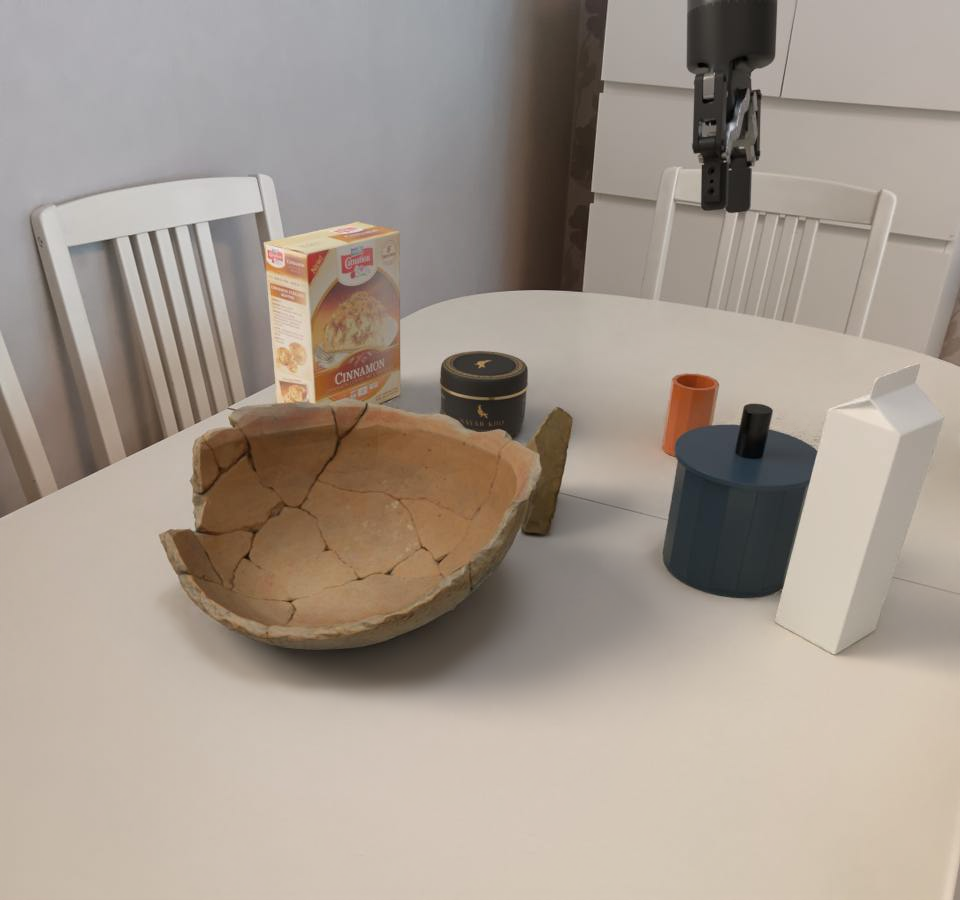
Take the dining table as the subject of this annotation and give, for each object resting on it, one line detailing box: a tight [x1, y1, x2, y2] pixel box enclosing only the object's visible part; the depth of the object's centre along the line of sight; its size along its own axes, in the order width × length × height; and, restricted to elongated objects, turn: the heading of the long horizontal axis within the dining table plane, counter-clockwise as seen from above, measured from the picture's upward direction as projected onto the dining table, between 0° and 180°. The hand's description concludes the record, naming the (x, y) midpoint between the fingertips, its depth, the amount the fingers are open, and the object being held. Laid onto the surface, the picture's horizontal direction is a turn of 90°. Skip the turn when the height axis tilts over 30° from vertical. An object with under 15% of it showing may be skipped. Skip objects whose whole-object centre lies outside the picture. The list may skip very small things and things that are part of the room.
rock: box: [521, 406, 574, 535], centre depth 95 cm, size 11×9×10 cm
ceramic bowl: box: [158, 398, 541, 651], centre depth 80 cm, size 30×27×15 cm
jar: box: [439, 350, 529, 438], centre depth 111 cm, size 10×10×8 cm
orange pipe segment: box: [661, 372, 720, 458], centre depth 108 cm, size 5×5×8 cm
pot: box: [662, 460, 809, 598], centre depth 86 cm, size 12×12×10 cm
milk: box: [774, 362, 945, 656], centre depth 75 cm, size 6×6×22 cm
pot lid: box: [674, 403, 818, 491], centre depth 82 cm, size 13×13×5 cm
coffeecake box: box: [263, 221, 402, 405], centre depth 112 cm, size 15×7×20 cm, turn 143°
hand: (726, 211), depth 89 cm, fingers open, 8 cm apart
